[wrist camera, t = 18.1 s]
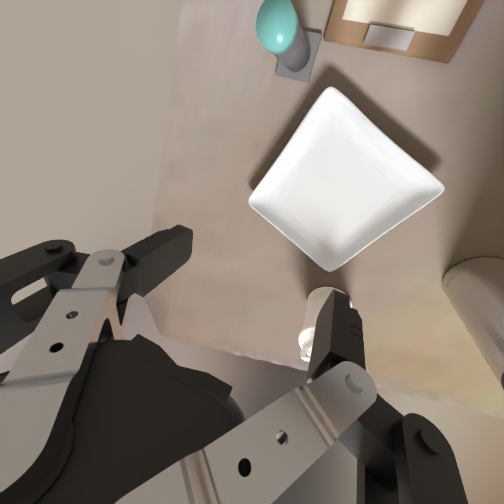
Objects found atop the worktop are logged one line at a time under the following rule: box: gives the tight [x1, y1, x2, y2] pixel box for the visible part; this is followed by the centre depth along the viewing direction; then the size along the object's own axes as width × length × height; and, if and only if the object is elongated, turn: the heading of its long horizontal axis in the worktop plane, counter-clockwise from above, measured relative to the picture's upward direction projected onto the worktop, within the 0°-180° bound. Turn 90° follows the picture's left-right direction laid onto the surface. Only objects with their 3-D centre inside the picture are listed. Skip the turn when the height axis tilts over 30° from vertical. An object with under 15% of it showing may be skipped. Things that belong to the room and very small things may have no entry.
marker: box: [256, 0, 310, 72], centre depth 25 cm, size 4×4×11 cm
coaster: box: [275, 31, 322, 82], centre depth 29 cm, size 5×5×1 cm
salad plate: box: [248, 86, 445, 272], centre depth 35 cm, size 21×21×3 cm
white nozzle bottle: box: [298, 287, 352, 362], centre depth 39 cm, size 10×9×20 cm
